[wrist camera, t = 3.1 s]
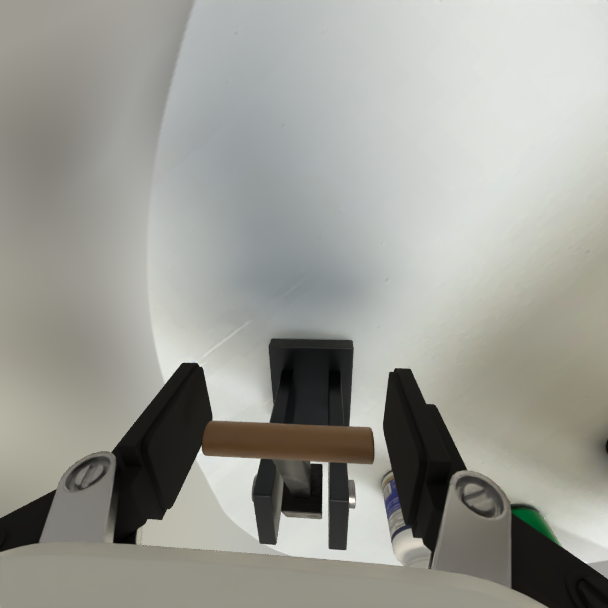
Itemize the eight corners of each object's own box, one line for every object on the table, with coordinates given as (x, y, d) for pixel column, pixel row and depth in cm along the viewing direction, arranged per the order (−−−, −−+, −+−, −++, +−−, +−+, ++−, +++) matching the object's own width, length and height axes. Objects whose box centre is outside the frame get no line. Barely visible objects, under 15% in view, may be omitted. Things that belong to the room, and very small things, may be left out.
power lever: (212, 397, 10) (191, 474, 8) (370, 402, 10) (378, 485, 8) (265, 470, 19) (259, 515, 17) (347, 475, 19) (349, 521, 17)
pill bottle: (441, 485, 30) (483, 597, 22) (401, 504, 32) (427, 614, 24) (410, 458, 29) (442, 567, 21) (370, 480, 31) (386, 588, 23)
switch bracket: (271, 339, 24) (227, 463, 14) (352, 340, 24) (373, 471, 13) (277, 417, 28) (246, 564, 17) (348, 420, 28) (361, 574, 17)
